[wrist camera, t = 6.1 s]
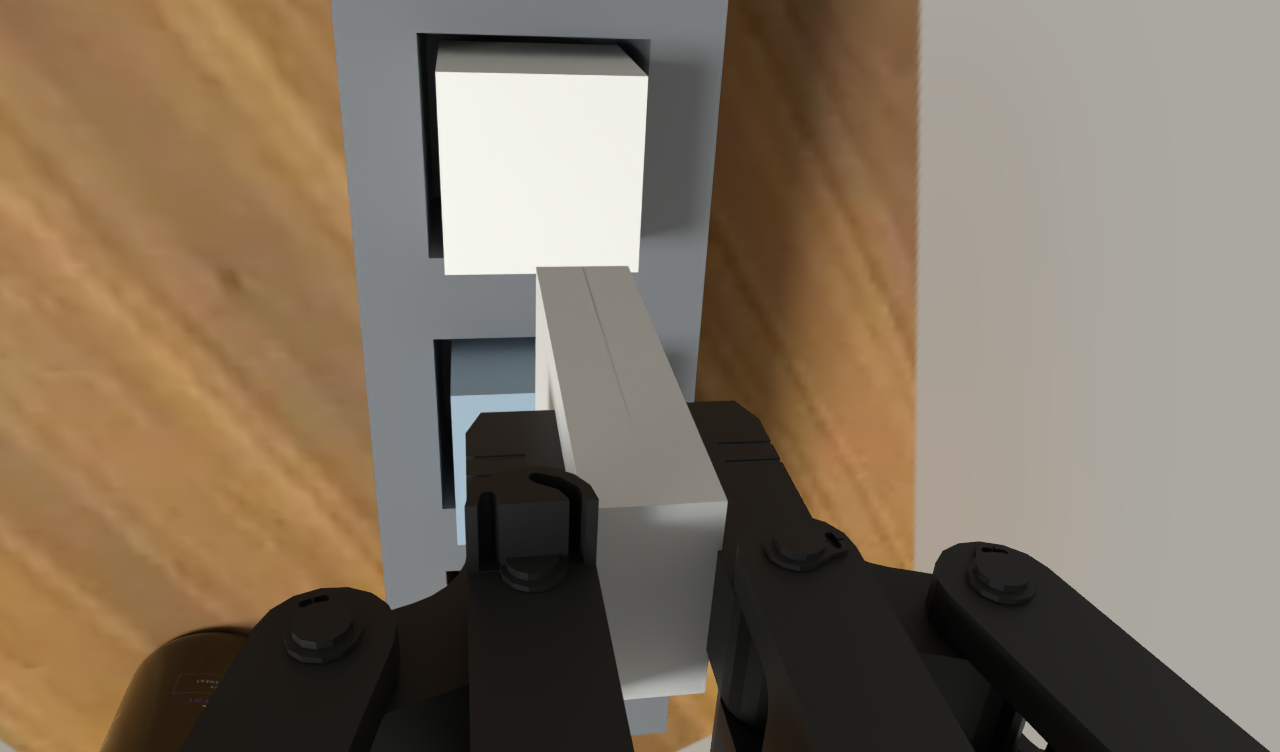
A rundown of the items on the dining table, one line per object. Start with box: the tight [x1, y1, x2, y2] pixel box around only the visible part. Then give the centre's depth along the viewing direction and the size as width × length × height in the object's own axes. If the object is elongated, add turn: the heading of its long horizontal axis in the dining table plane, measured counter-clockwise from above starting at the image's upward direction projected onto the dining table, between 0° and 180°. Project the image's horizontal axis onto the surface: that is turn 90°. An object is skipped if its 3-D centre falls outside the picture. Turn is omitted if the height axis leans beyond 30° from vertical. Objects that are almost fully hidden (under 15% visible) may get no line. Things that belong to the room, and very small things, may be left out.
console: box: [331, 0, 728, 736], centre depth 32 cm, size 28×10×6 cm, turn 177°
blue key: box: [451, 337, 536, 545], centre depth 30 cm, size 5×5×5 cm
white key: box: [435, 40, 648, 275], centre depth 26 cm, size 5×5×5 cm
